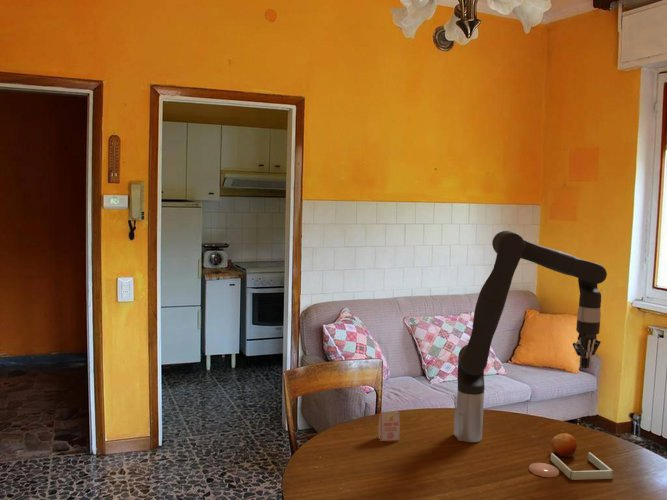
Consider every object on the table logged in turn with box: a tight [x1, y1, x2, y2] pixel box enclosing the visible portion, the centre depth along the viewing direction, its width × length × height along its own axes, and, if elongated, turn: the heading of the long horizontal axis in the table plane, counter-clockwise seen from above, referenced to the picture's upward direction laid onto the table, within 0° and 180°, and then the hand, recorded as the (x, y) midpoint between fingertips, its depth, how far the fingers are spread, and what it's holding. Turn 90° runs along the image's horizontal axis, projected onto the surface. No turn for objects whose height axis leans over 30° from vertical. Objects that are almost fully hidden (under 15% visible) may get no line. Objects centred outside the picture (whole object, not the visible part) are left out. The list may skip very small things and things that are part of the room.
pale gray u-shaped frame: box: [550, 451, 614, 481], centre depth 197 cm, size 14×14×2 cm
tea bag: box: [377, 410, 401, 442], centre depth 216 cm, size 4×7×10 cm, turn 98°
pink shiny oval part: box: [528, 462, 560, 478], centre depth 195 cm, size 9×9×1 cm
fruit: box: [550, 432, 578, 458], centre depth 208 cm, size 8×8×8 cm
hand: (584, 367), depth 218 cm, fingers closed
